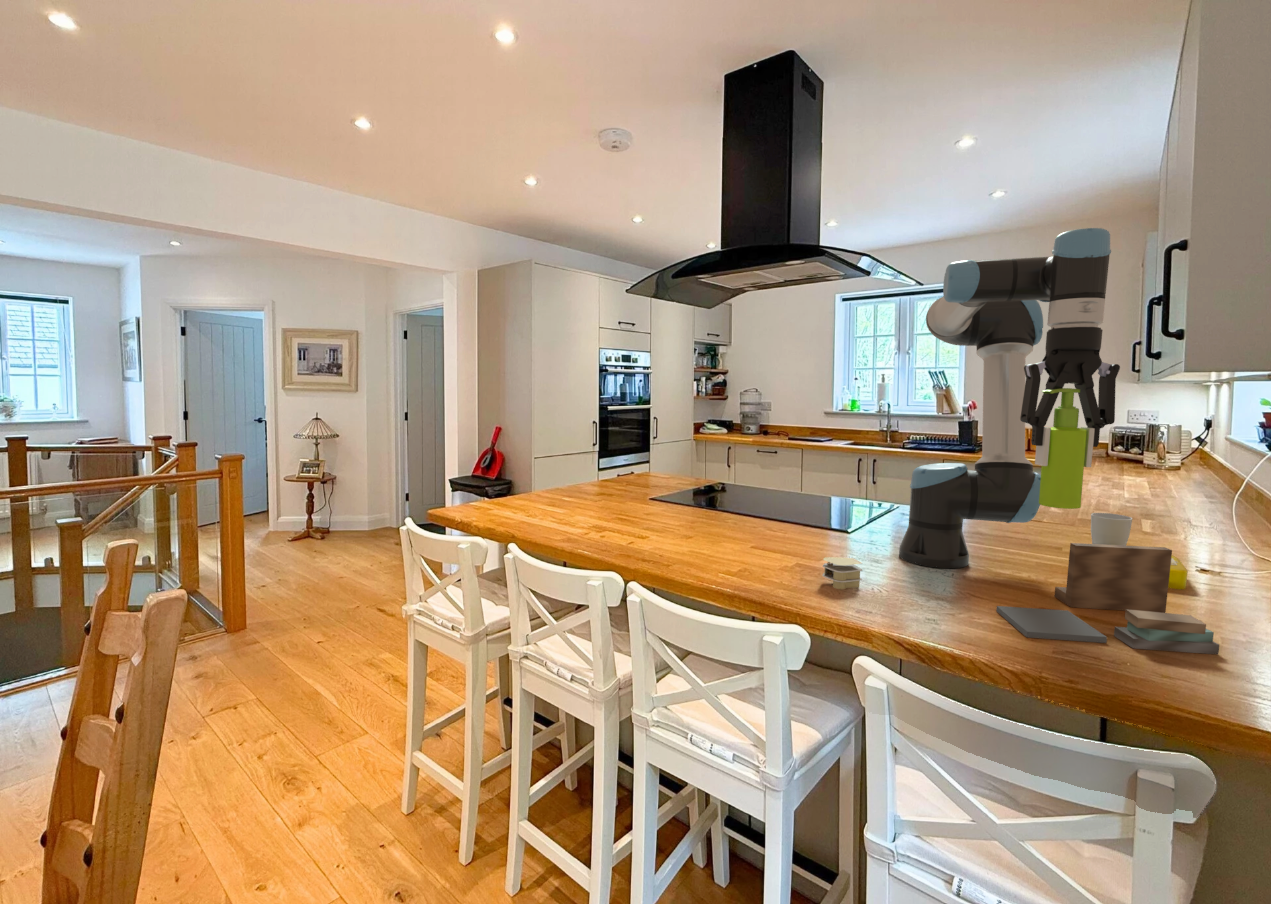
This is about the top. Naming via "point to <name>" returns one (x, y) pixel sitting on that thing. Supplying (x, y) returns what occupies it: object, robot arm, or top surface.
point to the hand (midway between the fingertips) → (1062, 465)
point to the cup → (1110, 528)
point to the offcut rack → (1133, 596)
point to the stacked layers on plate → (842, 572)
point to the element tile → (1177, 574)
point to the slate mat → (1050, 624)
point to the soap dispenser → (1064, 456)
